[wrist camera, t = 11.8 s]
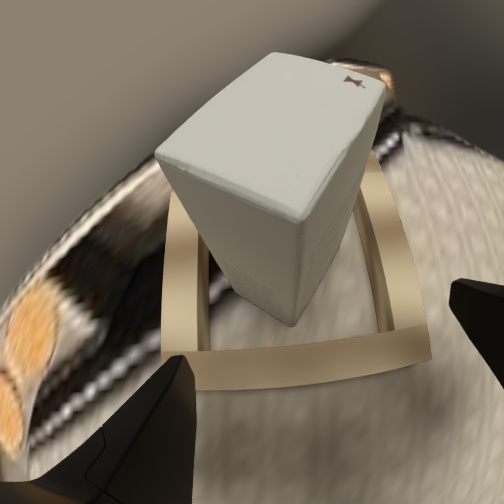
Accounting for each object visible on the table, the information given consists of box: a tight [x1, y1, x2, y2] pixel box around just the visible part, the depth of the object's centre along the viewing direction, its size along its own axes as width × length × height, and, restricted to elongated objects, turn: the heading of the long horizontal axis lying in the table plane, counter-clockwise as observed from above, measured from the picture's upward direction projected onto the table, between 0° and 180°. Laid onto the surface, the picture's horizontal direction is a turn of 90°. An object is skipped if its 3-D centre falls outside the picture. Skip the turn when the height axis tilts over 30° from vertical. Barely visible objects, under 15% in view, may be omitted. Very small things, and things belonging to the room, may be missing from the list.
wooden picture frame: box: [161, 151, 432, 390], centre depth 16 cm, size 14×14×2 cm
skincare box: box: [155, 52, 386, 327], centre depth 12 cm, size 6×4×12 cm
